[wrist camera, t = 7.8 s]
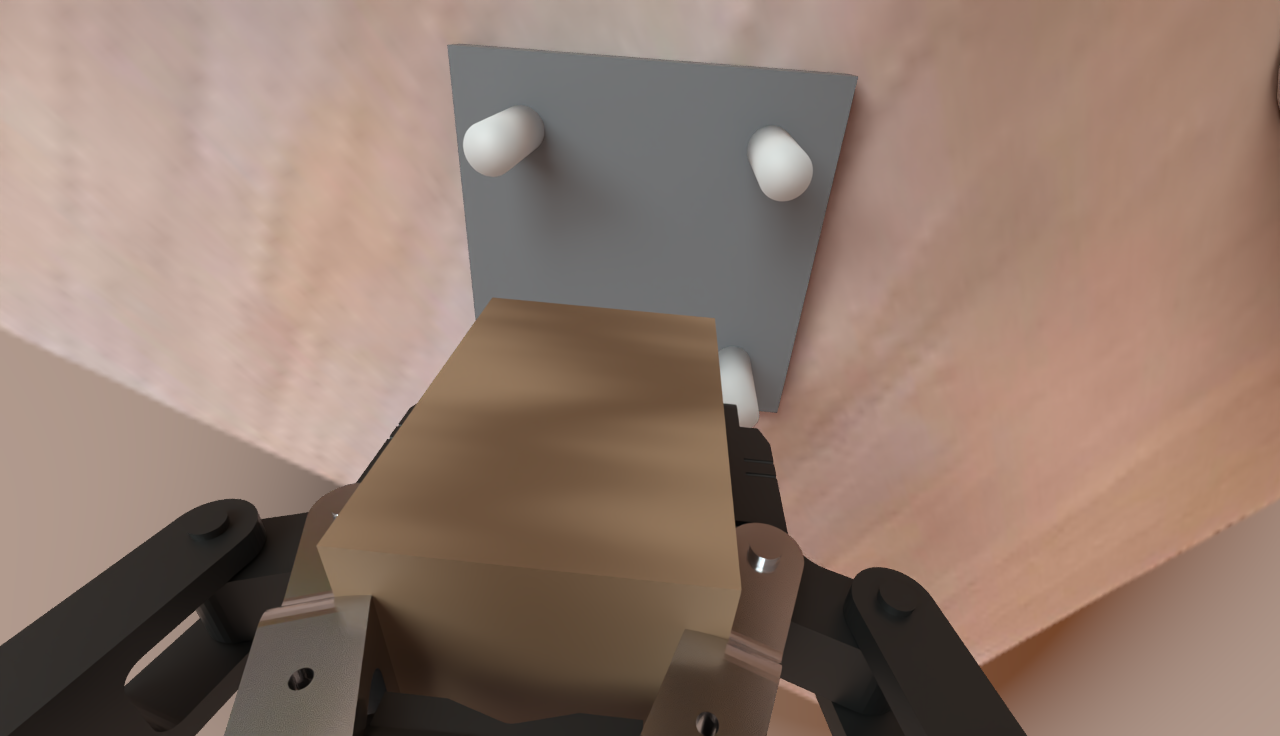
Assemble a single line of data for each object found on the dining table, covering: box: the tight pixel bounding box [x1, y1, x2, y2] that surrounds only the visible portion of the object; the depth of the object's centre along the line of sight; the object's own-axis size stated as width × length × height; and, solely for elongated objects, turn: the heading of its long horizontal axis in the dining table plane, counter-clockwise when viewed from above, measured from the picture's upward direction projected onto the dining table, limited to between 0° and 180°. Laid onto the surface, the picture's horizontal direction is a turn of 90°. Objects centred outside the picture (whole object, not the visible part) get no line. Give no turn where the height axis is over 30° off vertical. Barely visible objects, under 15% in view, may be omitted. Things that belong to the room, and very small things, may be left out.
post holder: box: [447, 44, 858, 428], centre depth 21 cm, size 14×14×5 cm
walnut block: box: [317, 297, 742, 728], centre depth 11 cm, size 5×5×7 cm
